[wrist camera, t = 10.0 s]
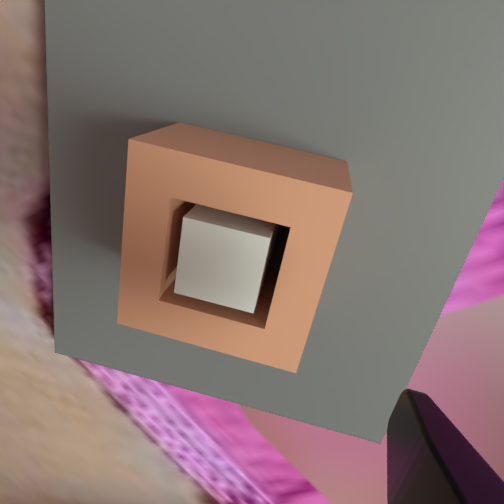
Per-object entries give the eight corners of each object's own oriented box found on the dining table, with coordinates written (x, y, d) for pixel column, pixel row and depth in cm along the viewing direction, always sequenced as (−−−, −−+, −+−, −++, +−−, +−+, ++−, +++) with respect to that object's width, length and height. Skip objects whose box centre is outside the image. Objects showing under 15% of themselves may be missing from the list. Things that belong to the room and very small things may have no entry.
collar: (162, 269, 17) (116, 323, 13) (179, 122, 14) (128, 139, 11) (303, 307, 16) (295, 373, 13) (347, 161, 14) (352, 192, 10)
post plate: (66, 340, 21) (-7, 414, 16) (60, -104, 13) (-81, -196, 9) (378, 426, 19) (392, 533, 15) (574, -11, 12) (724, -64, 7)
